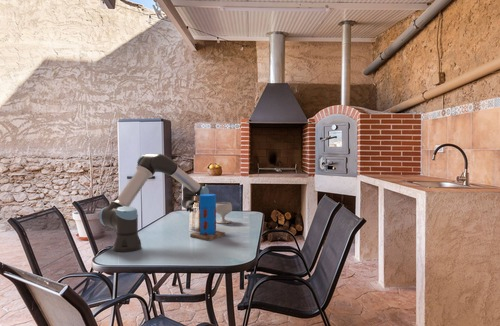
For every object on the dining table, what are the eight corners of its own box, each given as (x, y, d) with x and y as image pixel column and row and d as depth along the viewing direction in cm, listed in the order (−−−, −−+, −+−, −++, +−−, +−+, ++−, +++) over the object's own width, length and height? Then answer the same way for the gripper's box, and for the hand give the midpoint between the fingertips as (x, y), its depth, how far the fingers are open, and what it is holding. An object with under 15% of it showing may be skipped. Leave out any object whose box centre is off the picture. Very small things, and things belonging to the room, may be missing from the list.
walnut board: (208, 240, 215) (208, 237, 215) (190, 236, 225) (190, 233, 225) (225, 235, 228) (225, 232, 228) (207, 232, 238) (207, 229, 238)
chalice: (210, 222, 272) (210, 203, 271) (225, 219, 281) (225, 201, 280) (221, 224, 261) (221, 205, 261) (235, 222, 270) (235, 203, 270)
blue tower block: (213, 235, 220) (213, 196, 220) (197, 234, 222) (196, 195, 222) (217, 231, 231) (217, 194, 230) (202, 230, 233) (202, 193, 232)
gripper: (209, 209, 255) (222, 213, 237) (176, 212, 242) (187, 217, 224) (209, 198, 254) (222, 202, 236) (176, 201, 241) (187, 205, 223)
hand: (205, 209), depth 230 cm, fingers open, 13 cm apart
